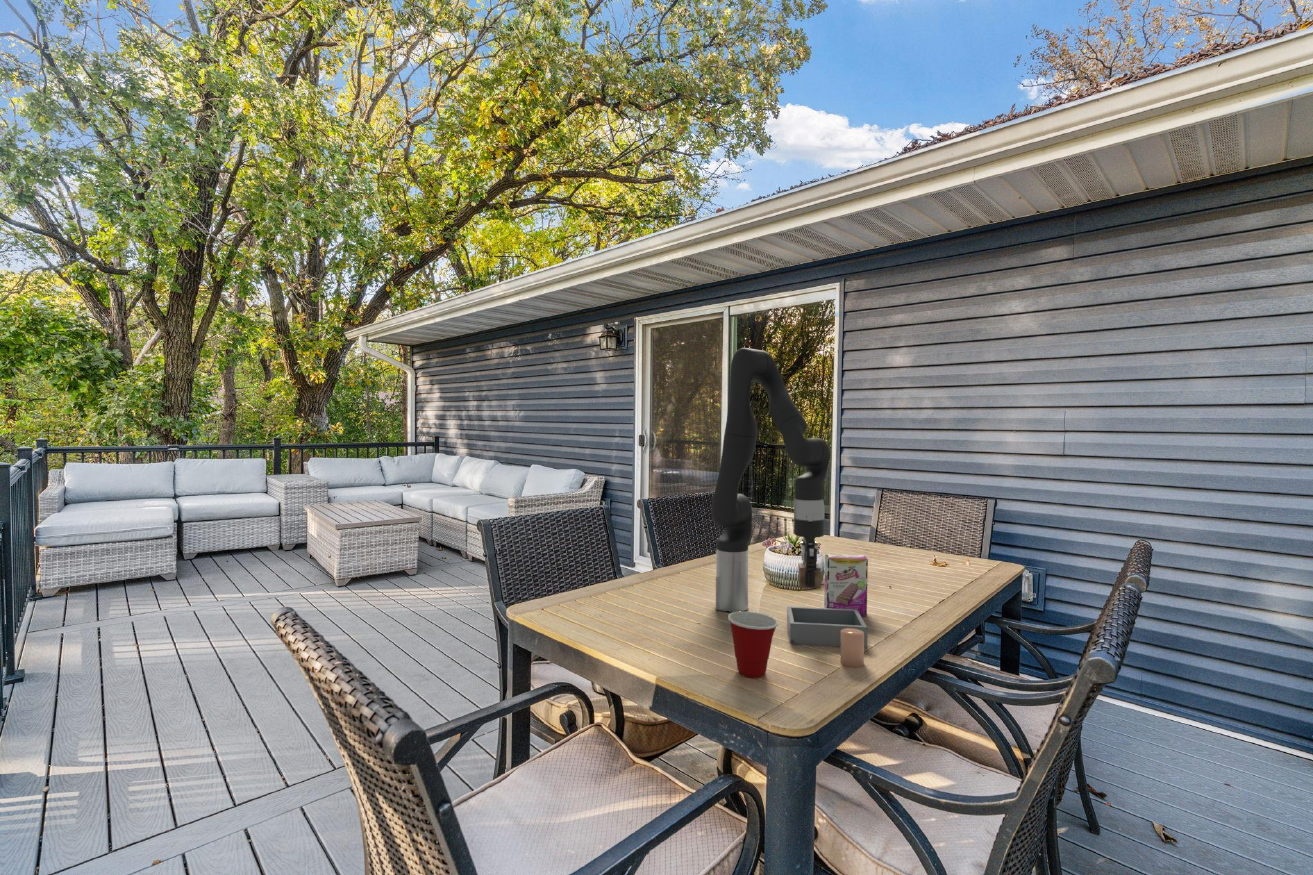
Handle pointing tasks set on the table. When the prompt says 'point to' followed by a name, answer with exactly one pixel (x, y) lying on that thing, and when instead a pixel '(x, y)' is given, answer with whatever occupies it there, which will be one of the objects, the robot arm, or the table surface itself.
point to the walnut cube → (802, 576)
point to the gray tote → (822, 625)
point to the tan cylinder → (852, 647)
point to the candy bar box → (846, 582)
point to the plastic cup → (752, 641)
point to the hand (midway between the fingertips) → (809, 583)
